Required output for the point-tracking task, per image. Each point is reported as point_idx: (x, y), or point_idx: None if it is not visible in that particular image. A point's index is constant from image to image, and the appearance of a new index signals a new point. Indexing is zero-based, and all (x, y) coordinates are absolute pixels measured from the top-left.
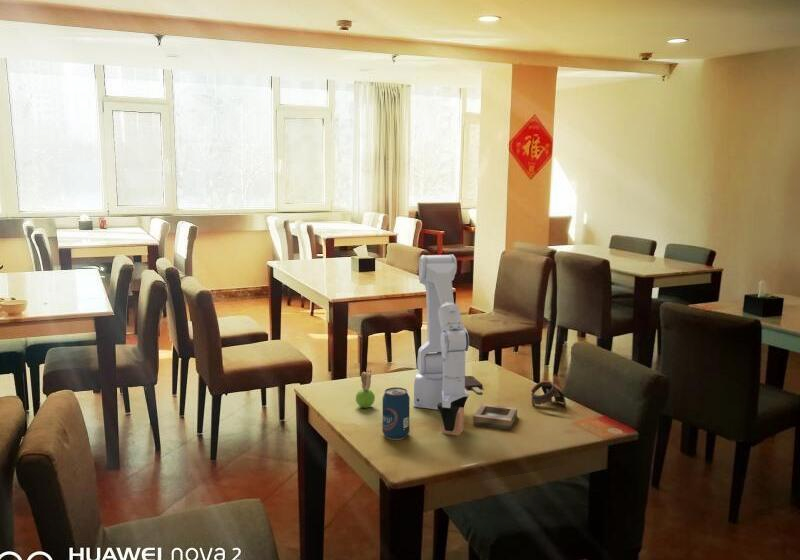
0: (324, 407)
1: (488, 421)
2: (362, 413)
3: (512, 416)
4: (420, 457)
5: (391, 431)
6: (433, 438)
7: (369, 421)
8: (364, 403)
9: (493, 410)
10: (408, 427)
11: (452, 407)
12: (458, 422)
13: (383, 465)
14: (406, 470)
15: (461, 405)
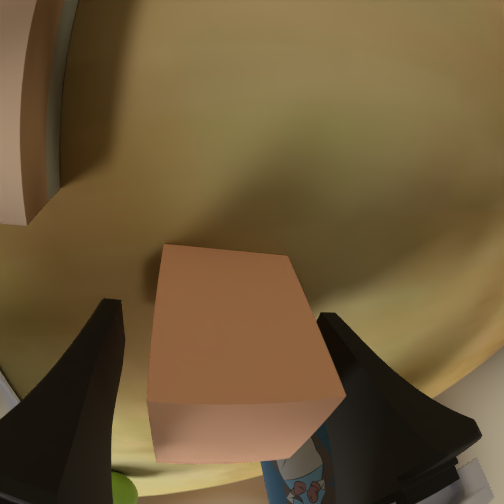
0: (155, 492)
1: (43, 63)
2: (154, 474)
3: None
4: (463, 332)
5: None
6: None
7: (201, 466)
8: (134, 489)
9: None
10: (328, 437)
11: (442, 463)
12: (315, 329)
13: (462, 374)
14: (499, 332)
15: (90, 412)
